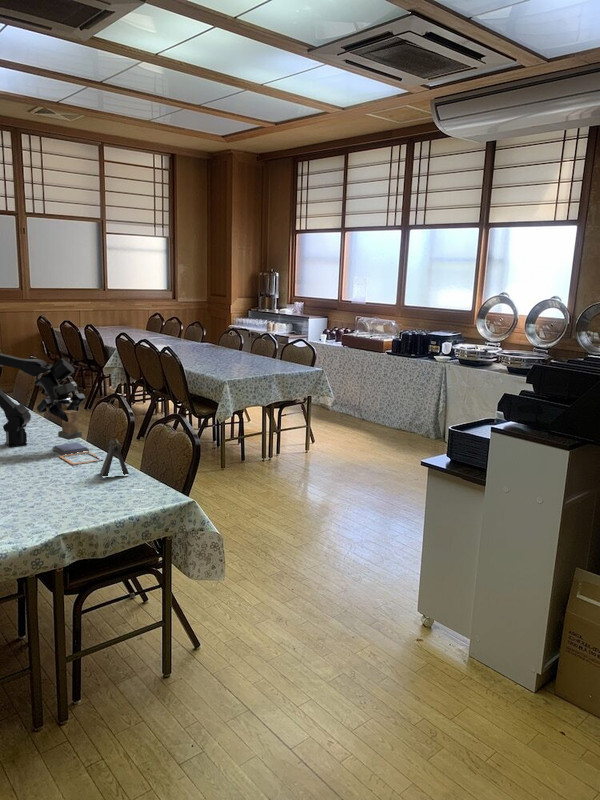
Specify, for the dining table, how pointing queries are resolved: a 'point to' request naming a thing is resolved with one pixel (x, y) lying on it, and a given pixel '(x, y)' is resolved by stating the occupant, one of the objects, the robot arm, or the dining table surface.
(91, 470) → the dining table surface
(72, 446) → the ink pad
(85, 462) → the marked frame
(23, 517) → the dining table surface
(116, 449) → the dark brown a-frame stand
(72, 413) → the stamp
